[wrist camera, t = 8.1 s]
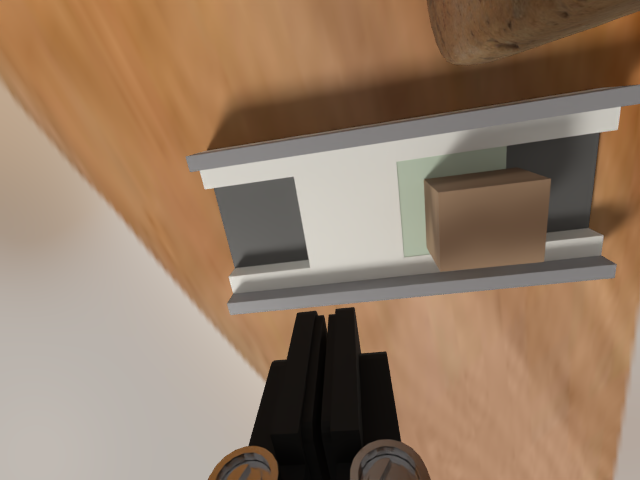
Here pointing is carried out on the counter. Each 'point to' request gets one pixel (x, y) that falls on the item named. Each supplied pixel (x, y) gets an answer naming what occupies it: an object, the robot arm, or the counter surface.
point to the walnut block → (486, 218)
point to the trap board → (402, 201)
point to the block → (513, 24)
